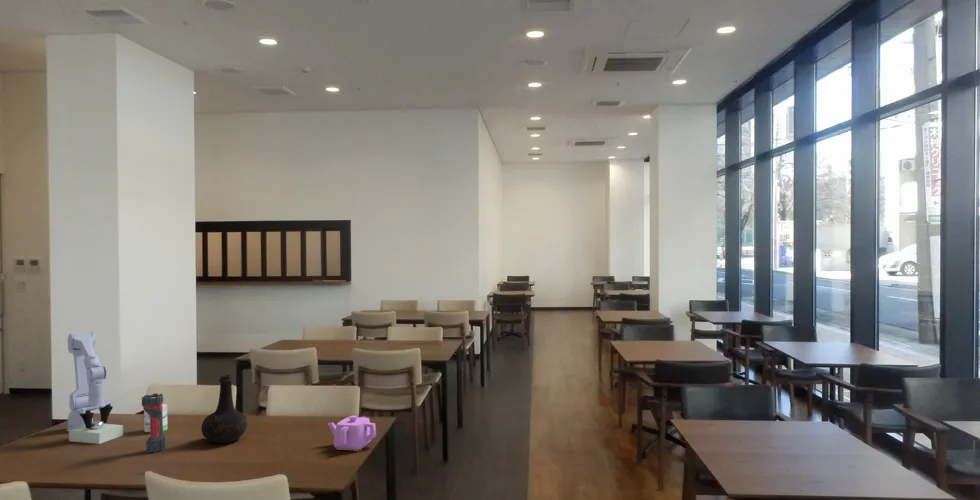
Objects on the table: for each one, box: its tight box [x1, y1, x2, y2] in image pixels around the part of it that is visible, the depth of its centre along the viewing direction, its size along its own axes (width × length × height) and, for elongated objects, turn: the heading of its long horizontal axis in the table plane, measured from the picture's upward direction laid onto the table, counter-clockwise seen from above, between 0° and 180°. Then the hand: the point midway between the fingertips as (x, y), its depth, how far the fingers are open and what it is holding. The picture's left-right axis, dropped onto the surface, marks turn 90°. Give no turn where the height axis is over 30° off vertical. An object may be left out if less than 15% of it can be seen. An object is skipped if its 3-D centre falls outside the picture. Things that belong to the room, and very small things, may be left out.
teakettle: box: [327, 415, 377, 449], centre depth 249 cm, size 17×17×12 cm
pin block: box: [68, 423, 124, 445], centre depth 260 cm, size 16×12×4 cm
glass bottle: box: [201, 374, 248, 444], centre depth 257 cm, size 18×18×28 cm
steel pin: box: [90, 420, 103, 430], centre depth 260 cm, size 5×5×6 cm
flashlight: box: [141, 393, 166, 454], centre depth 243 cm, size 8×8×23 cm
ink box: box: [143, 403, 169, 433], centre depth 271 cm, size 9×5×12 cm, turn 79°
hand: (96, 425), depth 260 cm, fingers open, 7 cm apart
